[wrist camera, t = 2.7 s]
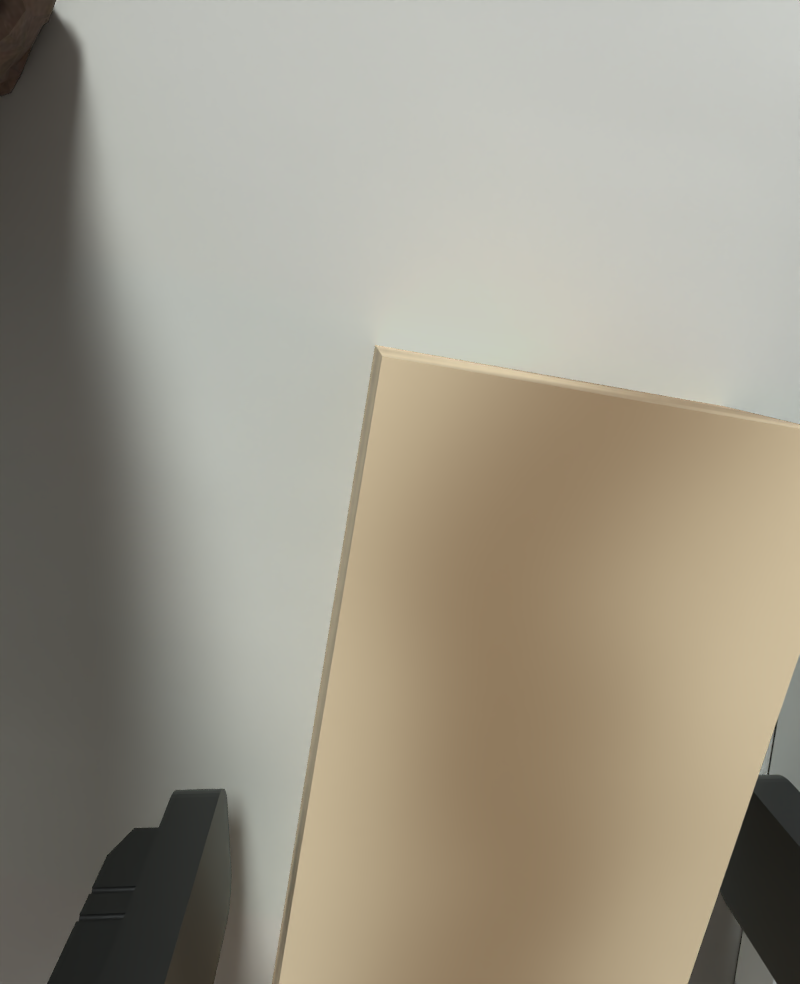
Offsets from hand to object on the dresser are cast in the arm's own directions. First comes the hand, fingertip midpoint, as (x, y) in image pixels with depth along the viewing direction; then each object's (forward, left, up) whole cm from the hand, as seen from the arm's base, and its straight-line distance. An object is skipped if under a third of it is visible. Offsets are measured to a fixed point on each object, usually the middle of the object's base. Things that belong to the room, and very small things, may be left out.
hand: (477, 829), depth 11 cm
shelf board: (0, 0, -2) cm, 2 cm away
